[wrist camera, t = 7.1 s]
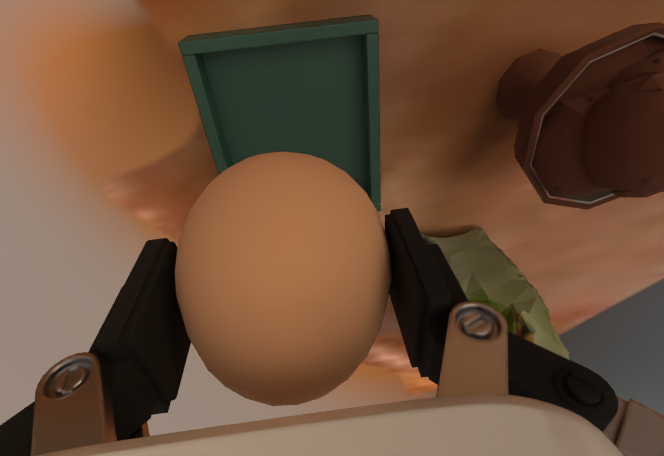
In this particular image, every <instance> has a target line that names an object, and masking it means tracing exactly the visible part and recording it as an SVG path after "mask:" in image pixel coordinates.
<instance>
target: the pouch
mask: <svg viewBox="0 0 664 456" xmlns="http://www.w3.org/2000/svg"><path fill="white" fill-rule="evenodd" d="M421 235H422V237H423V239H424V241H425V243H426V244H434V243H436V244H438V245H439V247H440V248H441V250H442V252H443V254H444V256H445V258H446V260H447V261H448V263H449V265H450V267H451V269H452V271H453V273H454V274H455V276H456V278H457V280H458V282H459V284H460V286H461V288H462V289H463V291H464V293H465V295H466V297H467V299H468V301H476V302H481V303H485V304H488V305H490V306H491V307H493V308H495V309H496V310H497V311H499V312H500V313H501V314H502V315H503V317H504V319H505V320H506V322H507V327H508V331H509V332H511V333H513V334H515V335H517V336H519V337H521V338H524V339H526V340H528V341H530V342H532V343H534V344H536V345H539V346H541V347H543V348H545V349H547V350H549V351H551V352H554V353H556V354H558V355H560V356H562V357H564V358H566V359H569V356H570V353H569V352H568V351H567V350H566V348H565V347H564V346H563V344H562V342H561V341H560V339H559V337H558V335H557V333H556V332H555V330H554V328H553V326H552V324H551V322H550V318H549V310H548V308H547V307H546V306H545V304H544V302H543V300H542V298H541V297H540V295H539V294H538V292H537V290H536V289H535V288H534V287H533V285H531V284H530V283H529V282H528V281H527V279H526V277H525V276H524V274H523V273H522V272H520V271H519V269H518V268H517V266H516V265H515V264H514V263H513V262H512V261H511V259H509V258H508V257H507V256H506V255H505V254H504V253H503V251H502V250H501V249H499V248H498V247H497V246H496V245H495V244H494V243H493V242H492V241H490V239H489V238H488V236H487V235H486V233H485V232H484V230H483V229H482V228H481V227H479V228H476V229H474V230H472V231H469V232H467V233H464V234H462V235H457V236H452V237H447V238H440V237H431V236H425V235H423V234H422V233H421Z"/></svg>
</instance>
